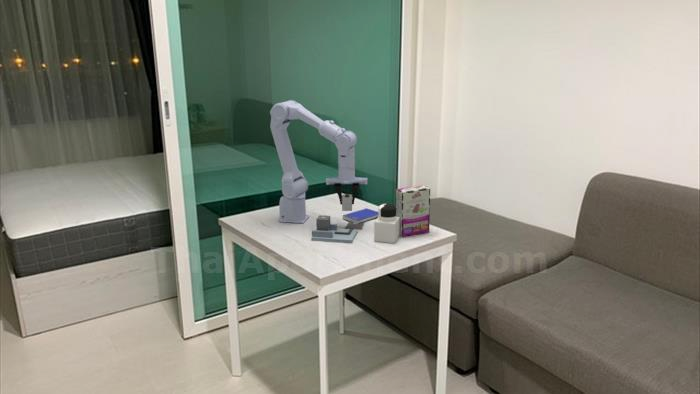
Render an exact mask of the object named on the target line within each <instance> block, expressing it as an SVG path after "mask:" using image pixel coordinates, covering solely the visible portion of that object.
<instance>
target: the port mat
mask: <svg viewBox="0 0 700 394" xmlns="http://www.w3.org/2000/svg"><path fill="white" fill-rule="evenodd" d="M364 226H365V222H361V223H354V222H351V221H349V222H348V223H347V224H346V225H345V228H344V229H350V228H354V230H360V231H361V230H363V227H364Z"/></svg>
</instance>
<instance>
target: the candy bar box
mask: <svg viewBox="0 0 700 394" xmlns="http://www.w3.org/2000/svg"><path fill="white" fill-rule="evenodd" d="M395 206H396V217H400V233H399V237H401V238H407V237H411V236H416V235H422V234H426V233H430V223H431V222H430V221H431V220H430V218H431V217H430V215H431V213H430V211H431V188H430V187H429V186H426V185H425V184H421V185H420V184H419V185H413V186H407V187H401V188H396V189H395Z"/></svg>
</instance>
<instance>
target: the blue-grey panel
mask: <svg viewBox="0 0 700 394" xmlns="http://www.w3.org/2000/svg"><path fill="white" fill-rule="evenodd" d="M357 234H358V229H354V228H350V229H345V228H338V224H337V223H331V231H320V230H317V229H312V231H311V238H310V239H311V241H313V242H315V241H318V242H331V243H346V244H347V243H348V244H353V242H354V240H355V238H356V236H357Z"/></svg>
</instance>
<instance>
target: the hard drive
mask: <svg viewBox="0 0 700 394" xmlns="http://www.w3.org/2000/svg"><path fill="white" fill-rule="evenodd" d="M377 218H378V210H373V209H370V208H363V209H360V210H355V211H351V212H350V213H346V214H343V215H342V219H343V220H345V221H349V222H352V223H365V222H366V221H370V220H373V219H377Z"/></svg>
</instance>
